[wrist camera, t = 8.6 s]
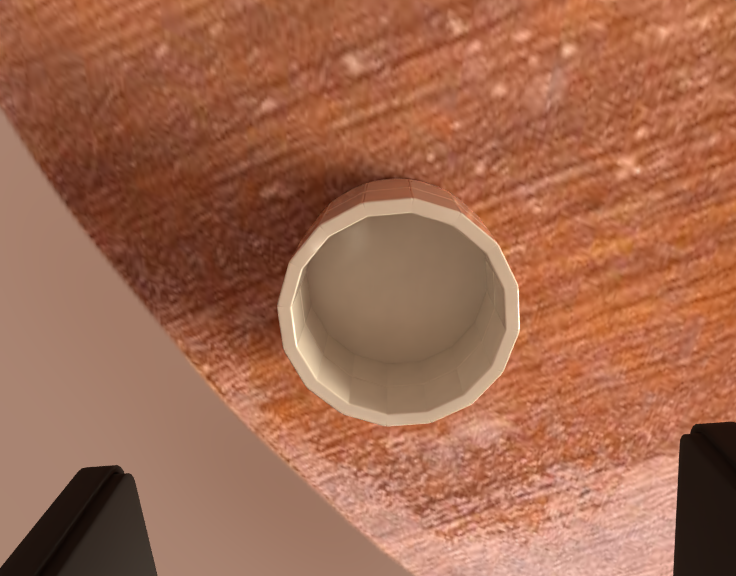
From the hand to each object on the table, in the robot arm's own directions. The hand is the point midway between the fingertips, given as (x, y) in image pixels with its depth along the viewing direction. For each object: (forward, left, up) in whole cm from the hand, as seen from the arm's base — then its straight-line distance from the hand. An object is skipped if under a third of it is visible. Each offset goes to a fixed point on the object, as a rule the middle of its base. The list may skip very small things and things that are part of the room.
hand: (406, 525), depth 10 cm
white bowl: (0, 0, -14) cm, 14 cm away
